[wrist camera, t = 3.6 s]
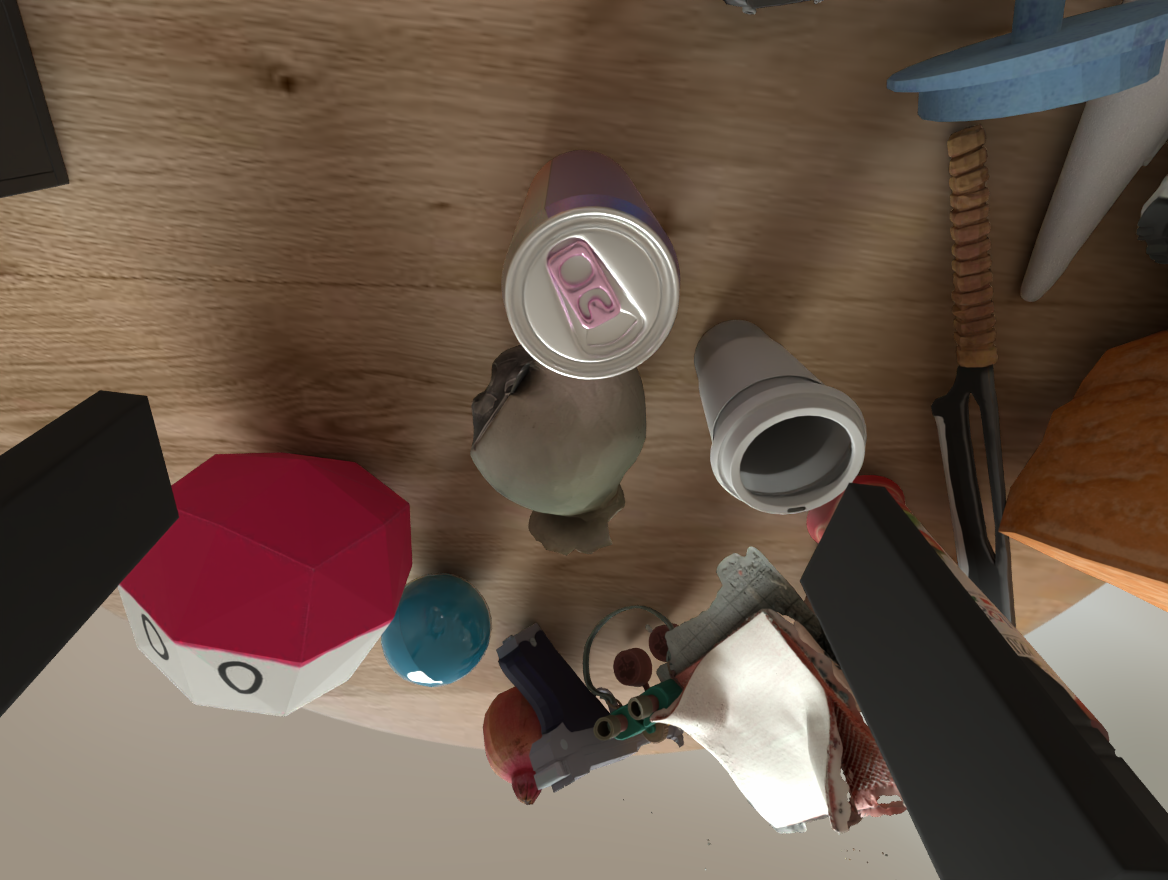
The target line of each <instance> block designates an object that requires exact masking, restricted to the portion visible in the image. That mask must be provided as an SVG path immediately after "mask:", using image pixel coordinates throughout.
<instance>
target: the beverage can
mask: <svg viewBox="0 0 1168 880" xmlns="http://www.w3.org/2000/svg"><path fill="white" fill-rule="evenodd" d="M502 297H503V302H504V306H505V310H506V313H507V317H508V320H509V323H510V326H511V328H512V330H513V332H514V334H515V336H516V338H517V339H518V341H519V342H520V344H521V345H522V347H523V348H524V349H525V350H526V351H527V352H528V353H529V354H530V355H531V356H532V357H533V358H534V359H535V360H536V361H538V362H539V363H540V364H542V365H544V366H545V367H547V368H549V369H550V370H552V371H555V372H557V373H559V374H562V375H565V376H569V377H573V378H579V379H602V378H608V377H613V376H616V375H620V374H622V373H625V372H627V371H629V370H631V369H633V368H635V367H637V366H638V365H640V364H641V363H643V362H644V361H646V360H647V359H648V358H649V357H650V356H652V355H653V354H654V353H655V352H656V351H657V349H658V348H659V347H660V346H661V345H662V343H663V342H664V341H665V339H666V337H667V336H668V334H669V332H670V330H671V328H672V326H673V324H674V321H675V318H676V315H677V311H678V306H679V297H680V270H679V264H678V260H677V256H676V253H675V250H674V248H673V245H672V243H671V241H670V239H669V238H668V236H667V234H666V233H665V231H664V230H663V228H662V227H661V225H660V224H659V222H658V221H657V219H656V218H655V216H654V214H653V213H652V211H651V210H650V208H649V207H648V205H647V204H646V202H645V201H644V199H643V198H642V196H641V195H640V193H639V191H638V190H637V188H636V187H635V185H634V184H633V182H632V181H631V179H630V178H629V176H628V175H627V173H626V172H625V171H624V170H623V168H622V167H621V166H620V165H619V164H617V163H616V162H615V161H614V160H612V159H611V158H609V157H607V156H605V155H603V154H601V153H598V152H594V151H588V150H576V151H570V152H566V153H563V154H561V155H559V156H557V157H555V158H553V159H552V160H550V161H549V162H548V163H546V164H545V165H544V166H543V167H542V168H541V169H540V170H539V172H538V173H537V174H536V176H535V177H534V179H533V181H532V183H531V185H530V188H529V190H528V193H527V196H526V199H525V202H524V205H523V208H522V211H521V214H520V217H519V220H518V223H517V226H516V228H515V231H514V234H513V237H512V240H511V243H510V246H509V249H508V252H507V255H506V258H505V261H504V265H503V271H502Z"/></svg>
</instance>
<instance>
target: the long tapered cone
mask: <svg viewBox="0 0 1168 880" xmlns="http://www.w3.org/2000/svg"><path fill="white" fill-rule="evenodd" d="M1133 1H1138V0H1123V2H1122V4H1125V3H1129V2H1133ZM1167 139H1168V39H1166V42H1165V47H1164V52H1163V57H1162V62H1161V66H1160V71H1159V74H1158V75H1157V76H1155V77H1154V78H1152V79H1151V80H1149V81H1148V82H1146V83H1143V84H1141V85H1138V86H1135V87H1132V88H1130V89H1127V90H1124V91H1122V92H1119V93H1115V94H1111V95H1108V96H1104V97H1100V98H1097V99H1093V100H1089V101H1087V102H1086V105H1085V108H1084V111H1083V113H1082V116H1081V119H1080V122H1079V124H1078V127H1077V130H1076V133H1075V135H1074V138H1073V141H1072V144H1071V146H1070V149H1069V152H1068V155H1067V157H1066V160H1065V163H1064V166H1063V168H1062V171H1061V174H1060V177H1059V179H1058V182H1057V185H1056V188H1055V190H1054V193H1053V196H1052V199H1051V201H1050V204H1049V207H1048V210H1047V212H1046V215H1045V218H1044V221H1043V223H1042V226H1041V229H1040V232H1039V235H1038V237H1037V240H1036V243H1035V246H1034V249H1033V252H1032V255H1031V258H1030V261H1029V264H1028V267H1027V270H1026V273H1025V276H1024V279H1023V282H1022V286H1021V297H1022V298H1023V299H1024V300H1026V301H1029V302H1033V301H1036V300H1038V299H1039V298H1041V297H1042V296H1043V295H1044V294H1045V293H1046V292H1047V291H1048V290H1049V289H1050V288H1051V287H1052V286H1053V285H1054V283H1055V282H1056V281H1057V280H1058V278H1059V277H1060V276H1061V275H1062V274H1063V272H1064V271H1065V269H1066V268H1067V266H1068V265H1069V263H1070V262H1071V260H1072V259H1073V257H1074V256H1075V254H1076V253H1077V252H1078V250H1079V249H1080V248H1081V246H1082V245H1083V244H1084V242H1085V241H1086V240H1087V238H1088V237H1089V236H1090V234H1091V233H1092V232H1093V230H1094V229H1095V228H1096V226H1097V225H1098V224H1099V222H1100V221H1101V220H1102V218H1103V217H1104V216H1105V214H1106V213H1107V212H1108V210H1109V209H1110V208H1111V206H1112V205H1113V204H1114V202H1115V201H1116V200H1117V198H1118V197H1119V196H1120V194H1121V193H1122V191H1123V190H1124V189H1125V187H1126V186H1127V185H1128V183H1129V182H1130V181H1131V179H1132V178H1133V177H1134V175H1135V174H1136V173H1137V171H1138V170H1139V169H1140V167H1141V166H1142V165H1143V166H1147V165H1148V164H1149V162H1150V161H1151V160H1152V159H1153V157H1154V156H1155V155H1156V153H1157V152H1158V151H1159V150H1160V148H1161V147H1162V146H1163V144H1164V143H1165V142H1166V140H1167Z"/></svg>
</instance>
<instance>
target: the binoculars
mask: <svg viewBox="0 0 1168 880" xmlns="http://www.w3.org/2000/svg"><path fill="white" fill-rule="evenodd" d="M632 608H641V609H644V610H647V611H649V612H651V613H652V614H654V615H656V616H657V617H658V618H660V619H661V620H662V621H663V622H664V623H665V624H666V625H662V626H658V627H656V628H655V629H653V631H652V632H651V634H650V637H649V648H650V651H651V653H652V655H653V656H654V657H655V658H656V659H658V660H660V661H664V662H667V667H668V671H669V675H670V677H671V678H672V679H671V678H670V679H668V680H666V681H663V682H661V683H659V684H657V685H655V686H652V687H649V684H648V681H649V679H650V677H651V674H652V663H651V660H650V658H649V656H648V654H647V653H646V652H645V651H644V650H642V649H640V648H632V649H628V650H625V651H621V652H620V653H619V654H618V655H617V656H616V658H615V660H614V665H613V668H614V673H615V676H616V678H617V679H618V681H619V682H620V683H622V684H624V685H628V686H634V687H641V686H643V688H644V690H645V692H643V693H642V694H641V695H640V696H636V697H633V698H631V699H630V700H629V702H628V704H626V705H624V706H622V704H621V703H620V701H619V700H617V699H615V697H614V696H613V695H611V694H609V693H603V692H600V691H599V690H597V689H596V688H595V687H594V686H593V684H592V682H591V679H590V674H589V652H590V647H591V644H592V641H593V639H594V637H595V636H596V634H597V633H598V631H599V630H600V629H601V627H602V626H603V625H604V624H605V623H606V622H607V621H608V620H609V619H610V618H612V617H613V616H615V615H616V614H618V613H620V612H622V611H625V610H628V609H632ZM677 626H679V625H677V624H672V623H671V622H670V621H669V620H668V619H667V618H666V617H665V616H663V615H662V614H661V613H659V612H658V611H656V610H654V609H652V608H649V607H646V606H629V607H625V608H621V609H618V610H616V611H614V612H612V613H610V614H609V615H607V616H606V617H605V618H604V619H602V620H601V621H600V622H599V623H598V624H597V626H596V627H595V628H594V629H593V631H592V632H591V634H590V636H589V637H588V639H587V642H586V644H585V647H584V653H583V675H584V680H585V683H586V686H587V688H588V689H589V690H590V691H591V692H592V693H593V694H595V695H597V696H600V699H604V700H605V701H606V704H607V705H609V706H611V707H612V708H614V709H616V710H615V711H613V712H612V713H611V714H610V715H608V716H605V717H602V718H600V719H598V720H597V721H596V723H595V725H594V729H593V731H594V735H595V736H596V737H597V738H598V739H600V740H608V739H611V738H613V737H614V738H615V739H617V740H625V739H628V738H630V737H633V736H639V735H641V734H643V735H644V737H645V738H646V739H647V740H648V741H649V742H651V743H659V742H662V741H663V740H664V739H666V737H667V734H668V731H669V730H668V728H669V727H668V726H669V725H671V724H666V723H660V722H657V723H656V722H654V723H652V722H651V721H650V717H651V716H652V714H653V713H654V712H655V711H658V710H662V709H663V708H665V709H667V708H668V707H669V706H670V705H671V704H672V703H673V702H674V701H675V700H676V699H677V698H678V697H679V696H680V694H681V693H682V691H683V690H684V687H683V686H682V685H681V684H680V683H679V682H678V679H677V678H676V677H675V676H676V672H675V671H674V670H670V666H669V665H672V664H671V663H670V660H671V653H670V651H669V648H668V645H667V640H666V638H665V634H666V632H668V631H671V630H673V629H674V628H675V627H677ZM615 702H618V704H619V705H616V706H613V705H612V704H614V703H615Z"/></svg>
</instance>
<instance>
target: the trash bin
mask: <svg viewBox="0 0 1168 880" xmlns="http://www.w3.org/2000/svg"><path fill="white" fill-rule="evenodd" d="M65 184H69V180H68V177H67V173H66V170H65V166H64V163H63V160H62V156H61V153H60V149H59V146H58V142H57V139H56V136H55V132H54V129H53V125H52V122H51V119H50V115H49V112H48V108H47V105H46V101H45V98H44V95H43V91H42V88H41V84H40V81H39V78H38V74H37V71H36V67H35V64H34V60H33V57H32V54H31V50H30V47H29V43H28V40H27V37H26V33H25V30H24V26H23V23H22V20H21V16H20V13H19V9H18V6H17V2H16V0H0V198H3V197H8V196H13V195H17V194H22V193H27V192H32V191H37V190H42V189H47V188H51V187H56V186H60V185H65Z"/></svg>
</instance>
